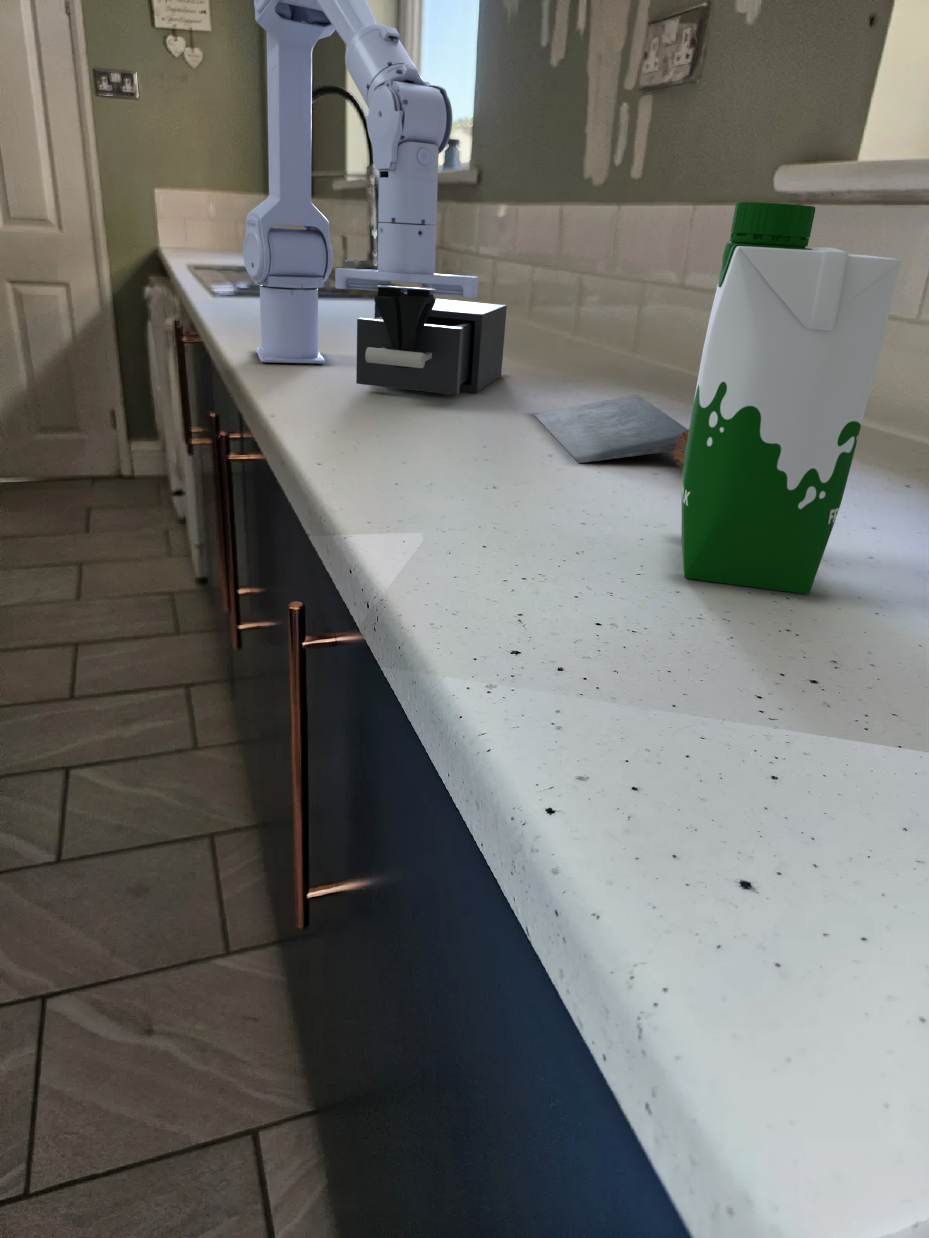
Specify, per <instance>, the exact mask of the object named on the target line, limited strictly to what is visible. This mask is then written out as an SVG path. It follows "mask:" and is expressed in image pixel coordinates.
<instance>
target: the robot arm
mask: <svg viewBox="0 0 929 1238" xmlns="http://www.w3.org/2000/svg"><path fill="white" fill-rule="evenodd" d="M253 6H254V7H253V8H254V21H255V22H256V24H258V25H259V26H260V27H261V28H262V29H263V30H264V31H265V32H266V77H267V80H266V83H267V85H266V86H267V136H268V137H267V141H268V143H267V145H268V147H267V149H268V156H267V157H268V196H267V197H266V198H265V199H264V200H263V201H262V202H259V204H258V205H256V206H255V207H254V208H253V209H251V210H250V211H249V212H248V213H247V215H246V220H245V233H244V234H245V235H244V238H243V244H242V257H243V263H244V267H245V270H246V272H247V274H248V275H249V276H250V278H251V279H252V280H253V283H254V284H256V285H259V309H260V311H259V313H260V339H261V340H260V341H261V344H260V345H261V347H260V346H259V347H255V351H256V354H257V356H258V359H259V361H260V362H261V363H279V364H280V363H281V364H282V363H283V364H284V363H285V364H325V363H326V360H325V358H324V357H323V356H322V355H321V353H320V352H319V289H320V288H324V283H325V282H326V281H327V280H328V279H329V276H330V275H331V273H332V271H333V265H334V251H333V246H332V243H331V236H330V235H331V234H330V222H329V220H328V219H327V218H326V216H325V215H324V214H323V213H322V212H320V211H319V209H318V208H317V207H316V206H315V205H314V204H313V202H312V125H313V123H312V120H313V119H312V118H313V117H312V116H313V115H312V114H313V113H312V112H313V111H312V104H313V101H312V100H313V97H312V96H313V95H312V94H313V93H312V91H313V87H312V86H313V49H314V47H315V45H316V44H317V43H318V41H319V40H321V39H324V38H328V37H331V36H332V34H333V33H334V32H336V33H337V34H338V36H339V37H340V38H341V40H342V41H343V43H344V44H345V46H346V51H345V55H344V60H345V66H346V69H347V72H348V73H349V76H350V77H351V78H352V81H353V83H354V84H355V86H356V88H357V90H358V92H359V93H360V96H361V97H362V99H363V101H364V103H365V104H366V106H367V108H368V115H366V128H367V133H368V138H369V141H370V143H371V146H372V164H374V165H373V166H374V169H375V170H377V171H378V206H377V207H378V208H377V209H378V211H377V212H378V213H377V215H378V216H377V217H378V218H377V219H378V220H377V222H378V223H377V228H378V229H377V269H365V268H346V267H337V268H335V269H334V270H335V271H334V273H335V274H334V275H335V277H334V279H335V287H334V288H335V289H338V290H360V291H373V292H374V291H377V294H376V295H374V297H373V300H374V306H375V305H376V307H377V309H378V311H379V313H380V315H381V317H382V319H383V322H384V324H385V327H386V330H387V333H388V336H389V339H390V343H391V347H392V350H400V351H409V352H416V349H417V345H418V342H419V339H420V336H421V333H422V330H423V328H424V325H425V323H426V321H427V318H428V316H429V314H430V312H431V310H432V308H433V307H434V305H435V302H436V299H437V297H435V296H449V297H462V298H468V299H470V298H471V299H473V298H477V297H478V291H479V276H475V275H459V274H447V273H437V272H436V247H437V246H436V245H437V244H436V241H437V216H438V215H437V214H438V213H437V212H438V187H439V186H438V185H439V155H440V154H441V153H443V151H444V150H445V149H446V147H447V145H448V143H449V141H450V138H451V135H452V130H453V109H452V104H451V100H450V98H449V96H448V92H447V90H446V89H445V88H444V87H443V86H441V85H438V84H437V85H436V84H431V83H430V82H428V81H425V80H424V79H423V78H422V76H421V74H420V72H419V70H418V68H417V67H416V65H415V64H414V62H413V60H412V58H411V57H410V56H409V54H408V51H407V50H406V49H405V47H404V45H403V44H402V42H401V40H400V39H401V34H400V33H399V32H398V30H397V28H395V27H393V26H388V25H385V24H381V23H377V21H376V19H375V16H374V14H373V11H372V9H371V7H370V5H369V2H368V1H367V0H253ZM278 225H279V226H299V227H303V228H304V229H303V228H301V229H300V228H299V229H298V228H285V227H284V228H282V227H274V226H278ZM435 272H436V273H435ZM391 283H406V284H407V283H408V284H409V283H410V284H421V287H410V286H409V287H408V286H393V285H391ZM395 367H399V368H410V367H406V366H397V365H395Z"/></svg>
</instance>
